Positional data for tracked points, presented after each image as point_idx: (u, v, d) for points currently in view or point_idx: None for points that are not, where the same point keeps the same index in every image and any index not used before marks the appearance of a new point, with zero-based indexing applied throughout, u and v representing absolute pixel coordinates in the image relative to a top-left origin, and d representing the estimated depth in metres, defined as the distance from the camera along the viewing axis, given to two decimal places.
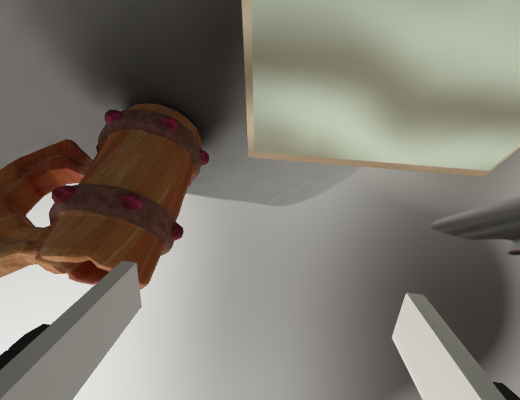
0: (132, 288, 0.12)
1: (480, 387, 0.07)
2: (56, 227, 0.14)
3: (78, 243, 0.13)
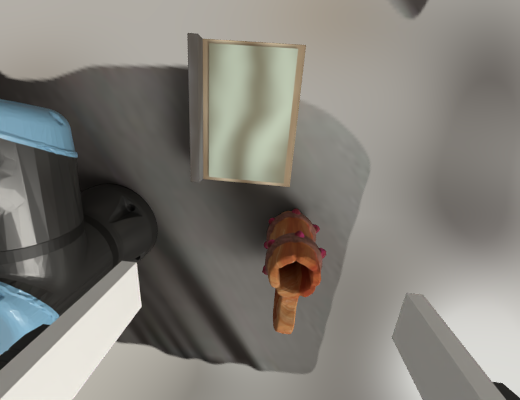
0: (132, 288, 0.12)
1: (480, 387, 0.07)
2: None
3: (269, 268, 0.30)
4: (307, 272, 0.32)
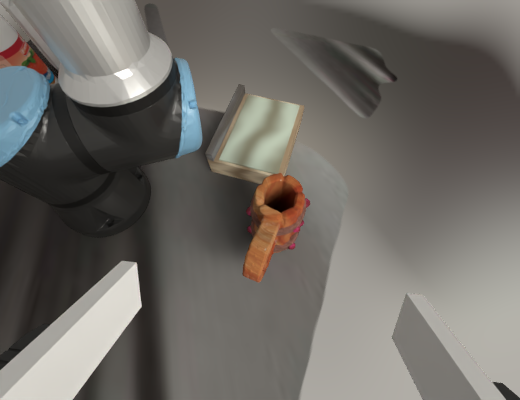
0: (132, 288, 0.12)
1: (480, 387, 0.07)
2: (254, 204, 0.31)
3: None
4: None
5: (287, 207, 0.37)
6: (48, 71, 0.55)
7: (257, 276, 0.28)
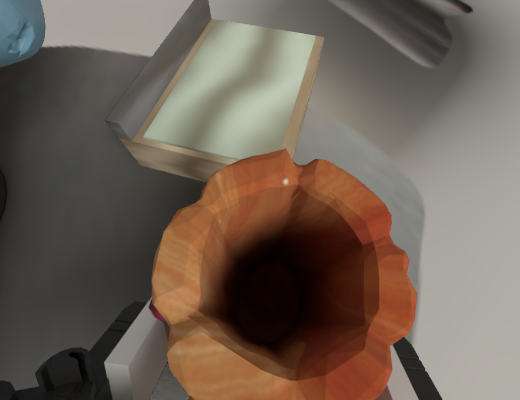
0: None
1: None
2: None
3: None
4: (329, 327, 0.08)
5: (302, 260, 0.13)
6: None
7: None
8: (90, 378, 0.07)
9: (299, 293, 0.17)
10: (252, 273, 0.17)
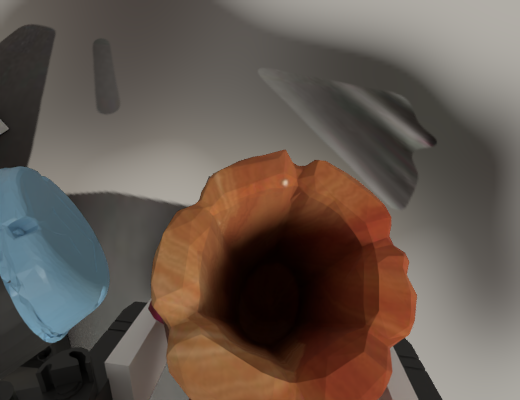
0: None
1: None
2: None
3: None
4: (329, 328, 0.08)
5: (301, 261, 0.13)
6: None
7: None
8: (90, 378, 0.07)
9: (299, 294, 0.17)
10: (252, 273, 0.17)
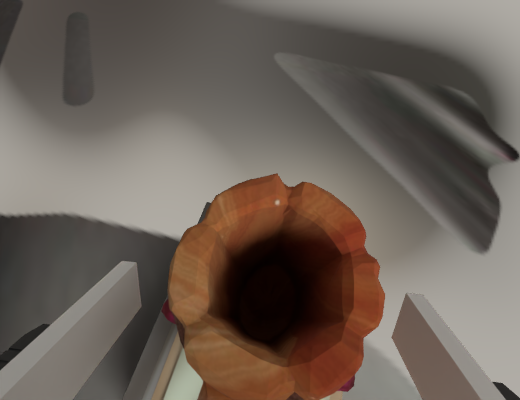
0: (132, 288, 0.12)
1: (480, 387, 0.07)
2: None
3: None
4: (318, 323, 0.09)
5: (296, 263, 0.14)
6: None
7: None
8: None
9: (295, 293, 0.18)
10: (251, 275, 0.19)
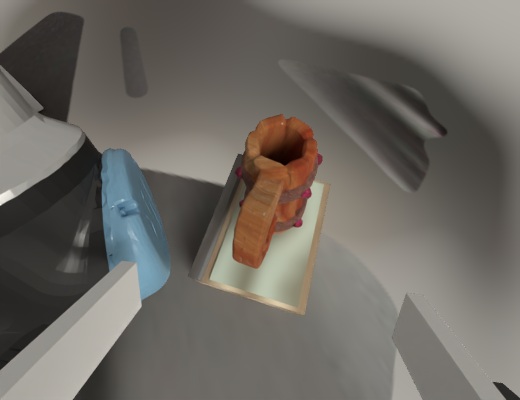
0: (132, 288, 0.12)
1: (480, 387, 0.07)
2: (246, 159, 0.22)
3: None
4: None
5: None
6: None
7: (254, 257, 0.19)
8: None
9: None
10: None
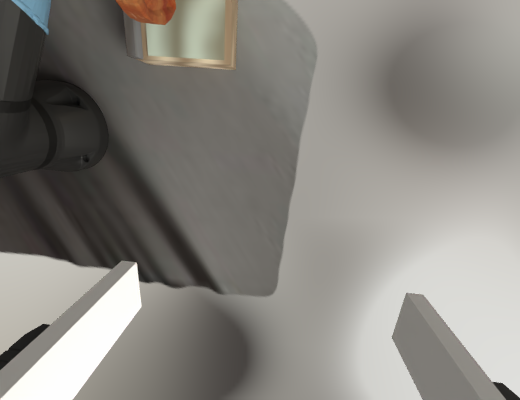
0: (132, 288, 0.12)
1: (480, 387, 0.07)
2: None
3: None
4: None
5: None
6: None
7: (137, 8, 0.23)
8: None
9: None
10: None
